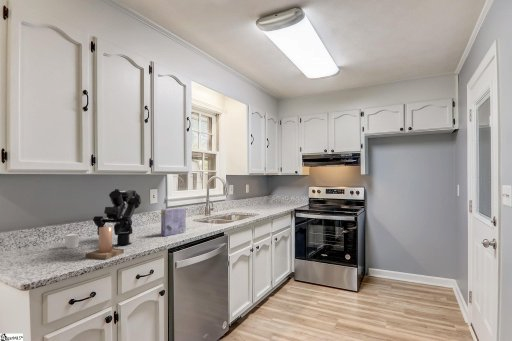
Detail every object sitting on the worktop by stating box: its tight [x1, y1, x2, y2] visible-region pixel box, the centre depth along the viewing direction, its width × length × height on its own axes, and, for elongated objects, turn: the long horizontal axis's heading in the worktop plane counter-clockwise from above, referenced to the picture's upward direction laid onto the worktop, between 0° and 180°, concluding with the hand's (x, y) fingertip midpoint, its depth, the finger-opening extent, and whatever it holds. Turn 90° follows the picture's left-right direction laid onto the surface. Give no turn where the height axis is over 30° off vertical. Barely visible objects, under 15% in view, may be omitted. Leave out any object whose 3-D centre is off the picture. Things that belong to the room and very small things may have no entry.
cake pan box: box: [160, 207, 187, 237], centre depth 199 cm, size 19×5×18 cm, turn 146°
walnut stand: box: [85, 247, 125, 260], centre depth 144 cm, size 12×12×2 cm
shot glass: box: [64, 233, 80, 249], centre depth 161 cm, size 7×7×7 cm
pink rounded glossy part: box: [98, 225, 113, 253], centre depth 144 cm, size 6×6×12 cm
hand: (107, 234), depth 146 cm, fingers open, 9 cm apart
